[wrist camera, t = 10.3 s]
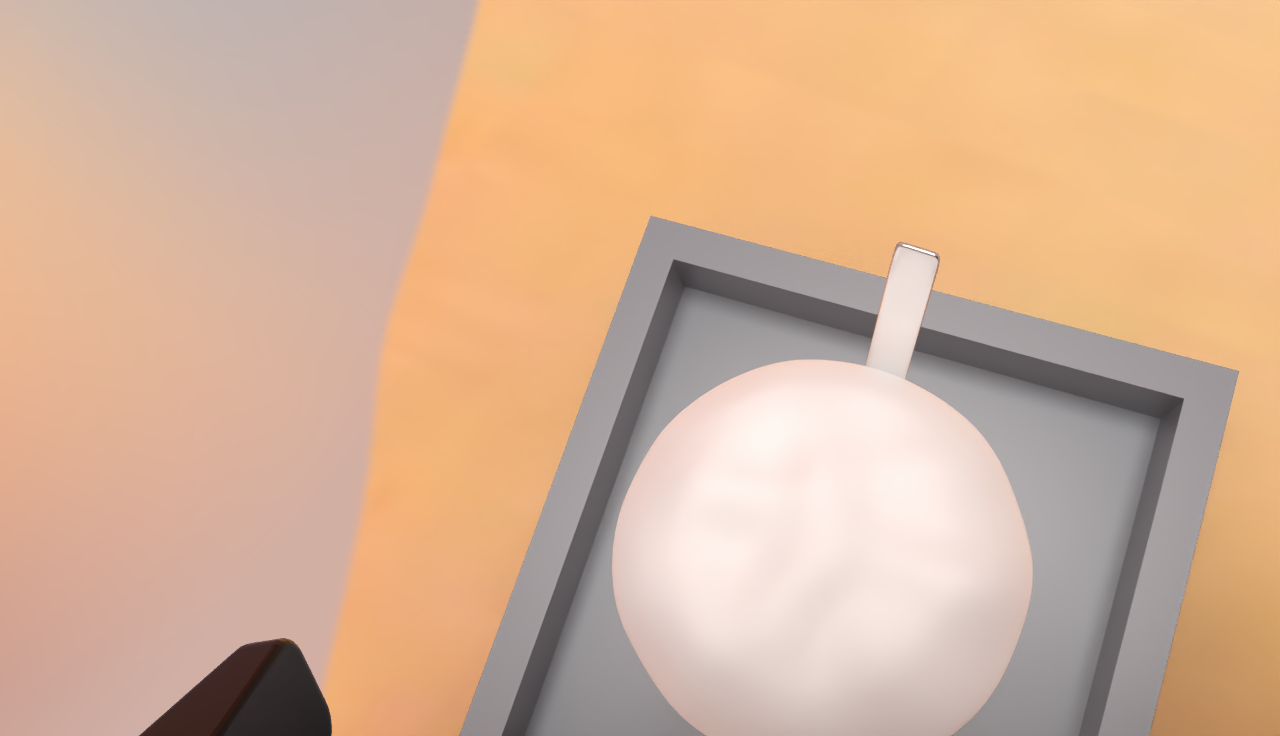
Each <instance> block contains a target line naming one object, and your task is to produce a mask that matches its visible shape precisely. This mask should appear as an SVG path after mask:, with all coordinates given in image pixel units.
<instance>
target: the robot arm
mask: <svg viewBox="0 0 1280 736" xmlns="http://www.w3.org/2000/svg"><path fill="white" fill-rule="evenodd" d="M331 734H332V724H331V716H330V712H329V708H328V706H327V703H326V701H325V699H324V697H323V695H322V693H321V691H320V689H319V687H318V685H317V682H316V680H315V678H314V676H313V674H312V672H311V670H310V668H309V666H308V664H307V662H306V660H305V658H304V656H303V654H302V652H301V650H300V648H299V647H298V646H297V645H296V644H295V643H294V642H293V641H291V640H289V639H285V638H281V639H275V640H268V641H262V642H255V643H250V644H246V645H244V646H241V647H240V648H239V649H237V650H236V651H235V652H234V653H233V654H231V656H229V657H228V658H227V659H226V660H225V661H223V662H222V663H221V664H220V665H219V666H218V667H217V668H216V669H214V670H213V671H212V672H211V673H210V674H209V675H208V676H206V677H205V678H204V679H203V680H202V681H201V682H200V683H199V684H198V685H196V686H195V687H194V688H193V689H192V690H191V691H189V692H188V693H187V694H186V695H185V696H184V697H183V698H182V699H180V700H179V701H178V702H177V703H176V704H175V705H173V706H172V707H171V708H170V709H169V710H168V711H167V712H166V713H164V715H162V716H161V717H160V718H159V719H158V720H156V721H155V722H154V723H153V724H152V725H151V726H150V727H148V728H147V729H146V730H145V731H144V732H143V733H142V734H141V735H139V736H331Z"/></svg>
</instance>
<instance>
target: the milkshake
mask: <svg viewBox="0 0 1280 736" xmlns="http://www.w3.org/2000/svg"><path fill="white" fill-rule="evenodd" d="M939 263H940V256H939V254H938V253H936V252H933V251H930V250H927V249H924V248H921V247H917V246H914V245H911V244H908V243H904V242H899V243H898V244H897V245H896V247H895V249H894V253H893V256H892V260H891V264H890V268H889V272H888V276H887V280H886V284H885V288H884V292H883V296H882V300H881V304H880V308H879V312H878V316H877V321H876V325H875V329H874V333H873V337H872V341H871V345H870V349H869V353H868V357H867V361H866V365H865V366H863V365H858V364H853V363H847V362H840V361H831V360H813V359H807V360H791V361H784V362H779V363H774V364H770V365H766V366H763V367H760V368H757V369H754V370H751V371H748V372H746V373H744V374H741V375H739V376H737V377H734V378H732V379H730V380H728V381H726V382H724V383H722V384H720V385H719V386H717V387H715V388H713V389H712V390H710V391H708V392H707V393H705V394H704V395H702V396H701V397H699V398H698V399H697V400H695V401H694V402H692V403H691V404H690V405H689V406H687V407H686V408H685V409H684V410H683V411H681V412H680V413H679V414H678V415H677V416H676V417H675V418H674V419H673V420H672V421H671V422H670V423H669V424H668V425H667V426H666V427H665V428H664V429H663V431H662V432H661V433H660V435H659V436H658V437H657V439H656V440H655V442H654V443H653V445H652V446H651V448H650V449H649V451H648V453H647V454H646V456H645V458H644V459H643V461H642V463H641V465H640V467H639V469H638V471H637V473H636V474H635V476H634V479H633V481H632V483H631V485H630V487H629V489H628V492H627V494H626V496H625V499H624V501H623V504H622V507H621V510H620V513H619V517H618V521H617V525H616V530H615V536H614V544H613V555H612V578H613V590H614V597H615V601H616V606H617V610H618V613H619V616H620V619H621V622H622V625H623V627H624V629H625V632H626V634H627V636H628V638H629V640H630V642H631V644H632V646H633V648H634V650H635V652H636V653H637V655H638V657H639V659H640V661H641V662H642V664H643V666H644V667H645V669H646V671H647V673H648V674H649V676H650V677H651V679H652V680H653V682H654V684H655V685H656V687H657V688H658V689H659V691H660V692H661V694H662V695H663V696H664V698H665V699H666V700H667V701H668V703H669V704H670V705H671V706H672V707H673V708H674V709H675V711H676V712H677V713H678V714H679V715H680V716H681V717H682V718H684V719H685V720H686V721H687V722H688V723H689V724H691V725H692V726H693V727H694V728H696V729H697V730H698V731H700V732H701V733H703V734H704V735H706V736H952V735H953V734H954V733H956V732H957V731H958V730H959V729H960V728H962V727H963V726H964V725H965V724H966V723H967V722H968V721H969V720H970V719H971V718H972V717H973V716H974V715H975V714H976V713H977V712H978V711H979V710H980V709H981V708H982V707H983V705H984V704H985V703H986V701H987V700H988V699H989V697H990V696H991V695H992V693H993V692H994V690H995V688H996V687H997V685H998V683H999V682H1000V680H1001V678H1002V676H1003V674H1004V672H1005V670H1006V668H1007V666H1008V664H1009V662H1010V659H1011V657H1012V655H1013V652H1014V650H1015V647H1016V645H1017V642H1018V639H1019V636H1020V634H1021V631H1022V628H1023V625H1024V622H1025V618H1026V615H1027V611H1028V607H1029V602H1030V597H1031V591H1032V579H1033V568H1032V556H1031V550H1030V544H1029V540H1028V536H1027V532H1026V528H1025V525H1024V521H1023V518H1022V515H1021V512H1020V509H1019V506H1018V504H1017V501H1016V498H1015V495H1014V492H1013V490H1012V487H1011V485H1010V482H1009V480H1008V478H1007V475H1006V473H1005V471H1004V469H1003V467H1002V465H1001V463H1000V461H999V459H998V458H997V456H996V454H995V453H994V451H993V450H992V448H991V447H990V445H989V444H988V442H987V441H986V440H985V438H984V437H983V436H982V435H981V433H980V432H979V431H978V430H977V429H976V428H975V427H974V426H973V425H972V424H971V423H970V422H969V421H968V420H967V419H966V418H965V417H964V416H963V415H961V414H960V413H959V412H958V411H956V410H955V409H954V408H953V407H951V406H950V405H948V404H947V403H946V402H944V401H943V400H941V399H940V398H938V397H937V396H935V395H933V394H932V393H930V392H928V391H926V390H925V389H923V388H921V387H919V386H917V385H915V384H913V383H911V382H909V381H907V380H905V379H906V375H907V372H908V369H909V365H910V362H911V359H912V355H913V352H914V348H915V345H916V342H917V338H918V335H919V332H920V328H921V325H922V321H923V318H924V315H925V311H926V308H927V305H928V301H929V298H930V295H931V291H932V288H933V284H934V281H935V278H936V274H937V271H938V267H939Z"/></svg>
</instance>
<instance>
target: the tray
mask: <svg viewBox="0 0 1280 736" xmlns="http://www.w3.org/2000/svg"><path fill="white" fill-rule="evenodd" d="M886 280H887V278H884V277H881V276H877V275H873V274H869V273H865V272H862V271H858V270H854V269H850V268H846V267H843V266H839V265H835V264H831V263H828V262H824V261H820V260H816V259H812V258H809V257H805V256H801V255H797V254H793V253H790V252H786V251H782V250H778V249H775V248H771V247H767V246H763V245H759V244H756V243H752V242H748V241H744V240H740V239H737V238H733V237H729V236H725V235H722V234H718V233H714V232H710V231H706V230H703V229H699V228H695V227H691V226H687V225H684V224H680V223H676V222H672V221H669V220H665V219H661V218H657V217H653V216H650V219H649V222H648V225H647V227H646V230H645V233H644V235H643V238H642V241H641V244H640V246H639V249H638V252H637V254H636V257H635V260H634V263H633V265H632V268H631V271H630V273H629V276H628V279H627V282H626V284H625V287H624V290H623V293H622V295H621V298H620V301H619V303H618V306H617V309H616V312H615V314H614V317H613V320H612V322H611V325H610V328H609V331H608V333H607V336H606V339H605V341H604V344H603V347H602V350H601V352H600V355H599V358H598V360H597V363H596V366H595V369H594V371H593V374H592V377H591V379H590V382H589V385H588V388H587V390H586V393H585V396H584V398H583V401H582V404H581V407H580V409H579V412H578V415H577V417H576V420H575V423H574V426H573V428H572V431H571V434H570V437H569V439H568V442H567V445H566V447H565V450H564V453H563V456H562V458H561V461H560V464H559V466H558V469H557V472H556V475H555V477H554V480H553V483H552V485H551V488H550V491H549V494H548V496H547V499H546V502H545V504H544V507H543V510H542V513H541V515H540V518H539V521H538V523H537V526H536V529H535V532H534V534H533V537H532V540H531V542H530V545H529V548H528V551H527V553H526V556H525V559H524V561H523V564H522V567H521V570H520V572H519V575H518V578H517V581H516V583H515V586H514V589H513V591H512V594H511V597H510V600H509V602H508V605H507V608H506V610H505V613H504V616H503V619H502V621H501V624H500V627H499V629H498V632H497V635H496V638H495V640H494V643H493V646H492V648H491V651H490V654H489V657H488V659H487V662H486V665H485V667H484V670H483V673H482V676H481V678H480V681H479V684H478V686H477V689H476V692H475V695H474V697H473V700H472V703H471V705H470V708H469V711H468V714H467V716H466V719H465V722H464V725H463V727H462V730H461V733H460V735H459V736H706V735H704V734H703V733H701V732H700V731H698V730H697V729H696V728H694V727H693V726H692V725H691V724H689V723H688V722H687V721H686V720H685V719H684V718H682V717H681V716H680V715H679V714H678V713H677V712H676V711H675V709H674V708H673V707H672V706H671V705H670V704H669V703H668V701H667V700H666V699H665V698H664V696H663V695H662V694H661V692H660V691H659V689H658V688H657V687H656V685H655V684H654V682H653V680H652V679H651V677H650V676H649V674H648V673H647V671H646V669H645V667H644V666H643V664H642V662H641V661H640V659H639V657H638V655H637V653H636V652H635V650H634V648H633V646H632V644H631V642H630V640H629V638H628V636H627V634H626V632H625V629H624V627H623V625H622V622H621V619H620V616H619V613H618V610H617V606H616V601H615V597H614V590H613V578H612V555H613V544H614V536H615V530H616V525H617V521H618V517H619V513H620V510H621V507H622V504H623V501H624V499H625V496H626V494H627V492H628V489H629V487H630V485H631V483H632V481H633V479H634V476H635V474H636V473H637V471H638V469H639V467H640V465H641V463H642V461H643V459H644V458H645V456H646V454H647V453H648V451H649V449H650V448H651V446H652V445H653V443H654V442H655V440H656V439H657V437H658V436H659V435H660V433H661V432H662V431H663V429H664V428H665V427H666V426H667V425H668V424H669V423H670V422H671V421H672V420H673V419H674V418H675V417H676V416H677V415H678V414H679V413H680V412H681V411H683V410H684V409H685V408H686V407H687V406H689V405H690V404H691V403H692V402H694V401H695V400H697V399H698V398H699V397H701V396H702V395H704V394H705V393H707V392H708V391H710V390H712V389H713V388H715V387H717V386H719V385H720V384H722V383H724V382H726V381H728V380H730V379H732V378H734V377H737V376H739V375H741V374H744V373H746V372H748V371H751V370H754V369H757V368H760V367H763V366H766V365H770V364H774V363H779V362H784V361H791V360H807V359H813V360H831V361H840V362H847V363H853V364H858V365H863V366H865V365H866V361H867V357H868V353H869V349H870V345H871V341H872V337H873V333H874V329H875V325H876V321H877V316H878V312H879V308H880V304H881V300H882V296H883V292H884V288H885V284H886ZM1238 373H1239V371H1236V370H1233V369H1229V368H1225V367H1221V366H1218V365H1214V364H1210V363H1206V362H1202V361H1199V360H1195V359H1191V358H1187V357H1183V356H1180V355H1176V354H1172V353H1168V352H1165V351H1161V350H1157V349H1153V348H1149V347H1146V346H1142V345H1138V344H1134V343H1130V342H1127V341H1123V340H1119V339H1115V338H1112V337H1108V336H1104V335H1100V334H1096V333H1093V332H1089V331H1085V330H1081V329H1077V328H1074V327H1070V326H1066V325H1062V324H1058V323H1055V322H1051V321H1047V320H1043V319H1040V318H1036V317H1032V316H1028V315H1024V314H1021V313H1017V312H1013V311H1009V310H1005V309H1002V308H998V307H994V306H990V305H987V304H983V303H979V302H975V301H971V300H968V299H964V298H960V297H956V296H952V295H949V294H945V293H941V292H937V291H934V290H932V291H931V295H930V298H929V301H928V305H927V308H926V311H925V315H924V318H923V321H922V325H921V328H920V332H919V335H918V338H917V342H916V345H915V348H914V352H913V355H912V359H911V362H910V365H909V369H908V372H907V375H906V379H905V380H907V381H909V382H911V383H913V384H915V385H917V386H919V387H921V388H923V389H925V390H926V391H928V392H930V393H932V394H933V395H935V396H937V397H938V398H940V399H941V400H943V401H944V402H946V403H947V404H948V405H950V406H951V407H953V408H954V409H955V410H956V411H958V412H959V413H960V414H961V415H963V416H964V417H965V418H966V419H967V420H968V421H969V422H970V423H971V424H972V425H973V426H974V427H975V428H976V429H977V430H978V431H979V432H980V433H981V435H982V436H983V437H984V438H985V440H986V441H987V442H988V444H989V445H990V447H991V448H992V450H993V451H994V453H995V454H996V456H997V458H998V459H999V461H1000V463H1001V465H1002V467H1003V469H1004V471H1005V473H1006V475H1007V478H1008V480H1009V482H1010V485H1011V487H1012V490H1013V492H1014V495H1015V498H1016V501H1017V504H1018V506H1019V509H1020V512H1021V515H1022V518H1023V521H1024V525H1025V528H1026V532H1027V536H1028V540H1029V544H1030V550H1031V556H1032V568H1033V579H1032V591H1031V597H1030V602H1029V607H1028V611H1027V615H1026V618H1025V622H1024V625H1023V628H1022V631H1021V634H1020V636H1019V639H1018V642H1017V645H1016V647H1015V650H1014V652H1013V655H1012V657H1011V659H1010V662H1009V664H1008V666H1007V668H1006V670H1005V672H1004V674H1003V676H1002V678H1001V680H1000V682H999V683H998V685H997V687H996V688H995V690H994V692H993V693H992V695H991V696H990V697H989V699H988V700H987V701H986V703H985V704H984V705H983V707H982V708H981V709H980V710H979V711H978V712H977V713H976V714H975V715H974V716H973V717H972V718H971V719H970V720H969V721H968V722H967V723H966V724H965V725H964V726H963V727H962V728H960V729H959V730H958V731H957V732H956V733H954V734H953V735H952V736H1149V735H1150V730H1151V726H1152V722H1153V718H1154V714H1155V710H1156V706H1157V702H1158V698H1159V694H1160V690H1161V686H1162V682H1163V678H1164V674H1165V670H1166V666H1167V662H1168V657H1169V653H1170V649H1171V645H1172V641H1173V637H1174V633H1175V629H1176V625H1177V621H1178V617H1179V613H1180V609H1181V605H1182V601H1183V597H1184V593H1185V588H1186V584H1187V580H1188V576H1189V572H1190V568H1191V564H1192V560H1193V556H1194V552H1195V548H1196V544H1197V540H1198V536H1199V532H1200V528H1201V524H1202V519H1203V515H1204V511H1205V507H1206V503H1207V499H1208V495H1209V491H1210V487H1211V483H1212V479H1213V475H1214V471H1215V467H1216V463H1217V459H1218V455H1219V450H1220V446H1221V442H1222V438H1223V434H1224V430H1225V426H1226V422H1227V418H1228V414H1229V410H1230V406H1231V402H1232V398H1233V394H1234V390H1235V386H1236V381H1237V377H1238Z"/></svg>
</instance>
